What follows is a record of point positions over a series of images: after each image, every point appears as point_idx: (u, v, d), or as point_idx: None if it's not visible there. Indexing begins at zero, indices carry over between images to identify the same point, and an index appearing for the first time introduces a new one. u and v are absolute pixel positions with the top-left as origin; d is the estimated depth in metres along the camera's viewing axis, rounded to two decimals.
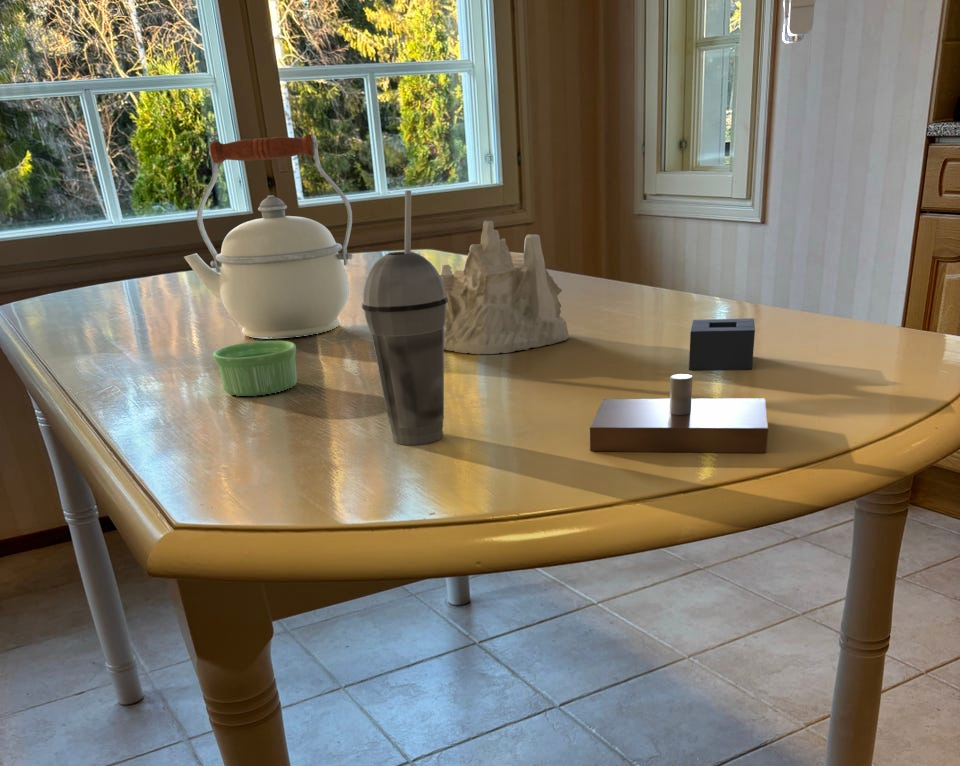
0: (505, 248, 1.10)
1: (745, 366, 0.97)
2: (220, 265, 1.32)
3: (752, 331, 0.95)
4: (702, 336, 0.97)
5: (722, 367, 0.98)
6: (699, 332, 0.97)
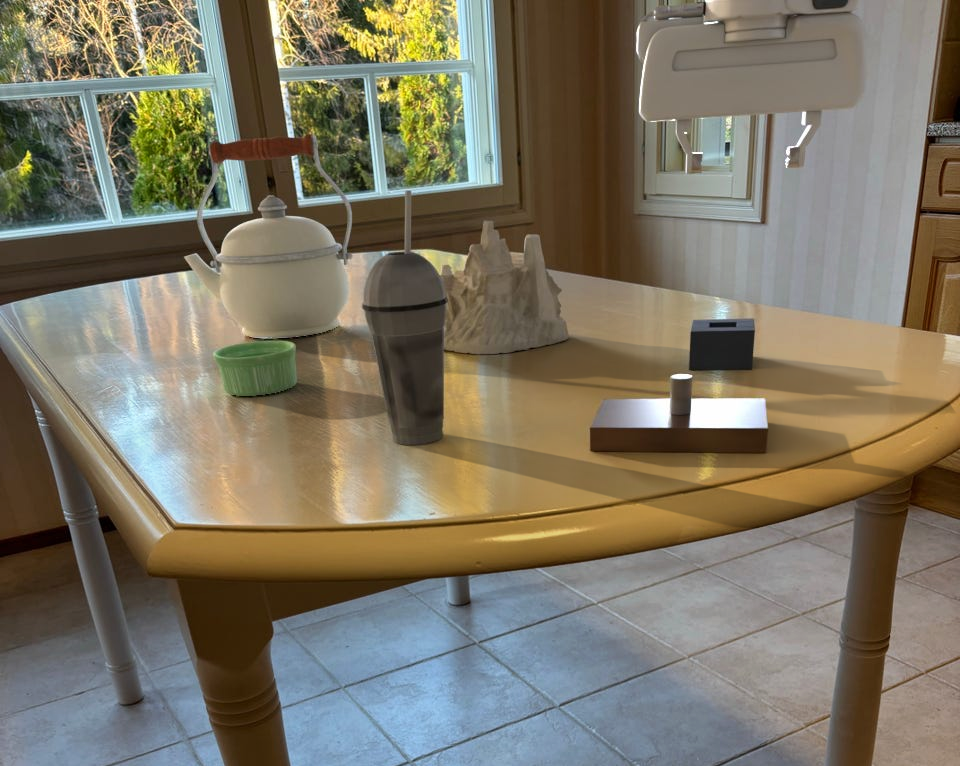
0: (505, 248, 1.10)
1: (745, 366, 0.97)
2: (220, 265, 1.32)
3: (752, 331, 0.95)
4: (702, 336, 0.97)
5: (722, 367, 0.98)
6: (699, 332, 0.97)
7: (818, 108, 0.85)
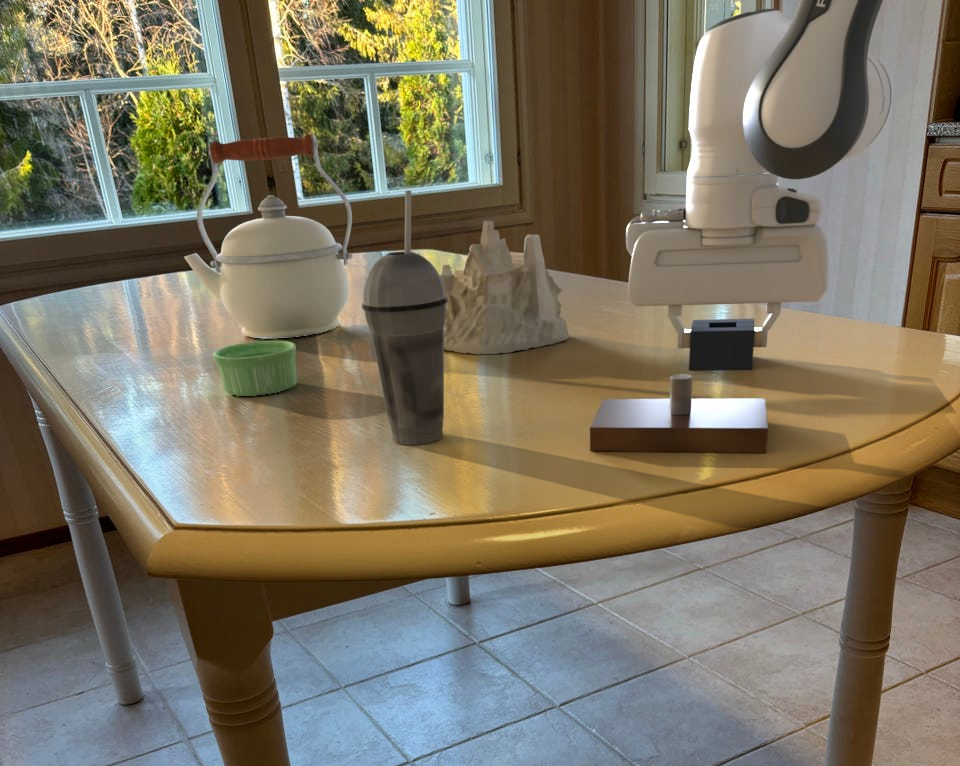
0: (505, 248, 1.10)
1: (745, 366, 0.97)
2: (220, 265, 1.32)
3: (752, 331, 0.96)
4: (702, 336, 0.97)
5: (722, 367, 0.98)
6: (699, 332, 0.97)
7: (785, 301, 0.95)
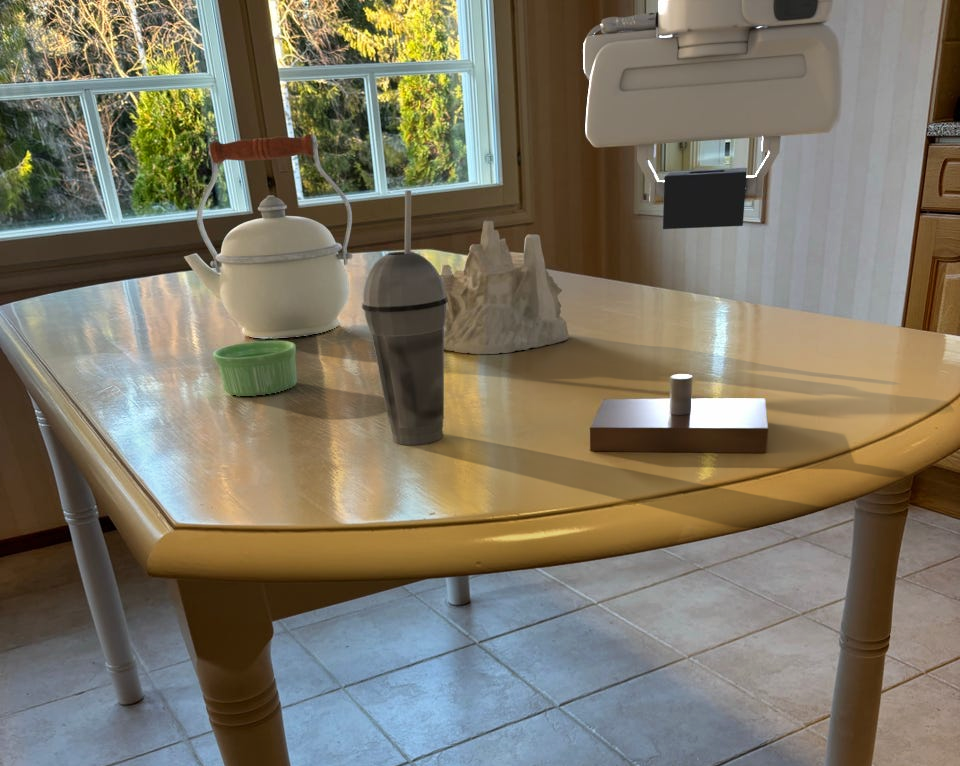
0: (505, 248, 1.10)
1: (734, 222, 0.76)
2: (220, 265, 1.32)
3: (743, 173, 0.74)
4: (680, 182, 0.76)
5: (705, 224, 0.77)
6: (675, 177, 0.76)
7: (786, 133, 0.74)
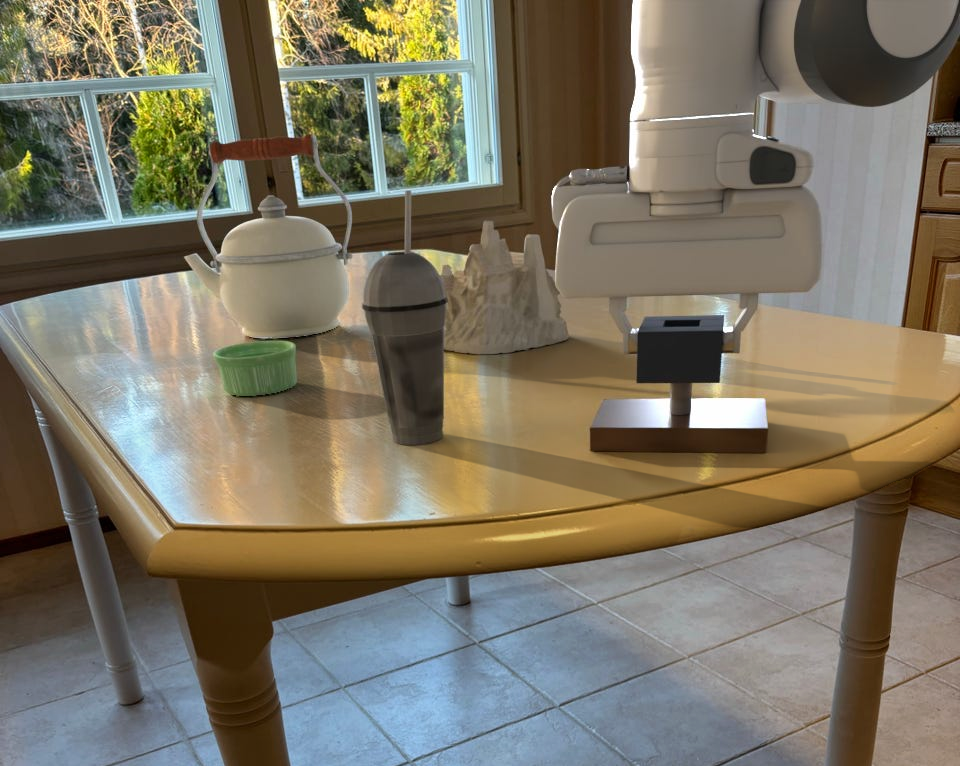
0: (505, 248, 1.10)
1: (710, 379, 0.73)
2: (220, 265, 1.32)
3: (719, 332, 0.71)
4: (653, 338, 0.72)
5: (680, 380, 0.73)
6: (649, 333, 0.72)
7: (764, 291, 0.70)
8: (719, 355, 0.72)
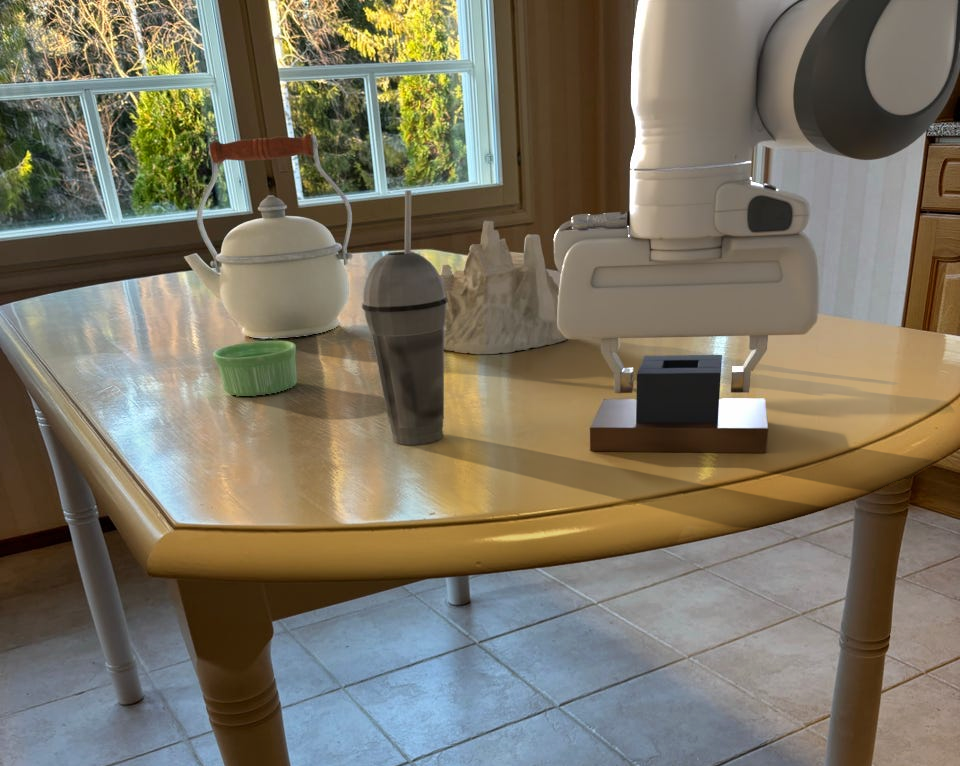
0: (505, 248, 1.10)
1: (709, 419, 0.74)
2: (220, 265, 1.32)
3: (717, 374, 0.73)
4: (653, 380, 0.74)
5: (679, 420, 0.75)
6: (648, 375, 0.74)
7: (762, 333, 0.72)
8: (717, 396, 0.73)
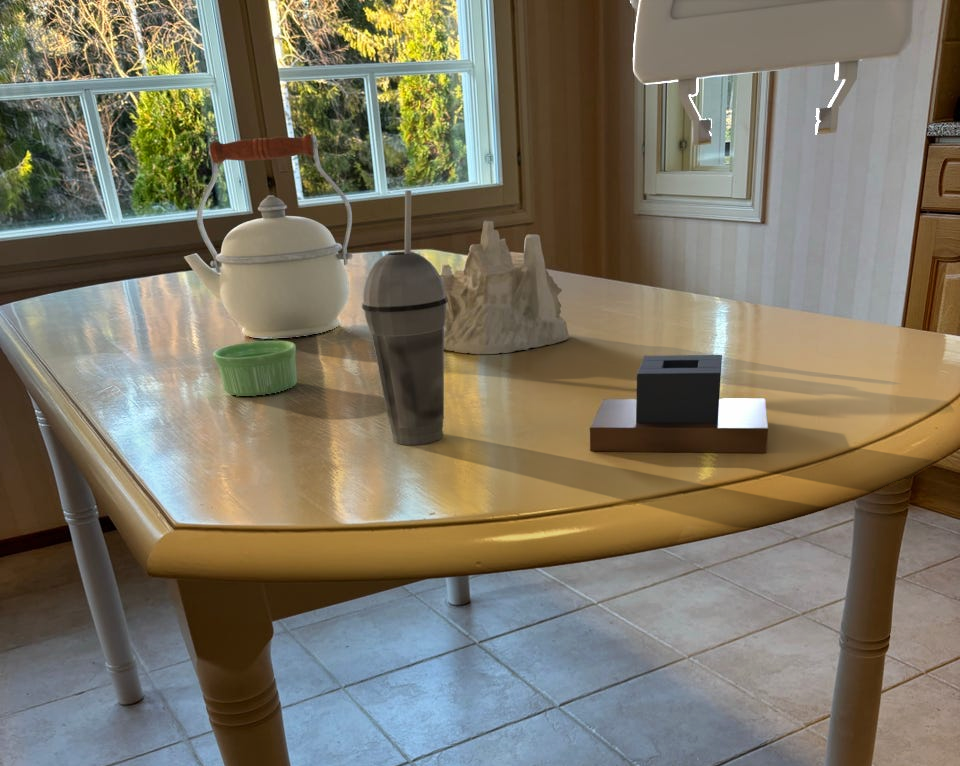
0: (505, 248, 1.10)
1: (709, 419, 0.74)
2: (220, 265, 1.32)
3: (717, 374, 0.73)
4: (653, 380, 0.74)
5: (679, 420, 0.75)
6: (648, 375, 0.74)
7: (853, 57, 0.68)
8: (717, 396, 0.73)
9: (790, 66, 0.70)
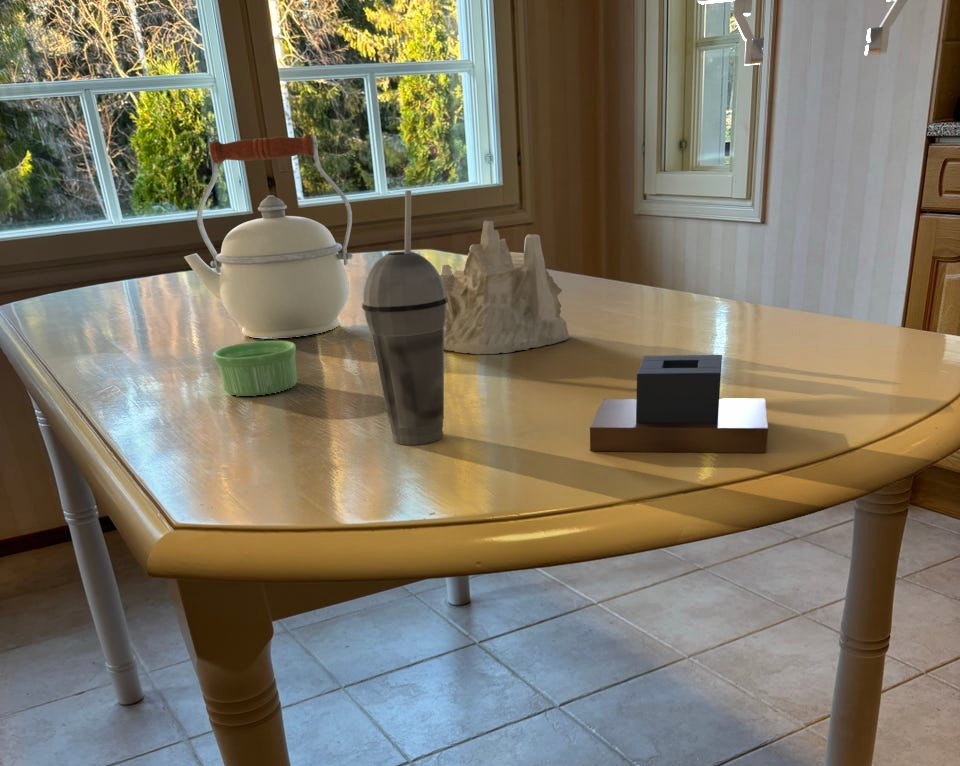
0: (505, 248, 1.10)
1: (709, 419, 0.74)
2: (220, 265, 1.32)
3: (717, 374, 0.73)
4: (653, 380, 0.74)
5: (679, 420, 0.75)
6: (648, 375, 0.74)
7: None
8: (717, 396, 0.73)
9: None
